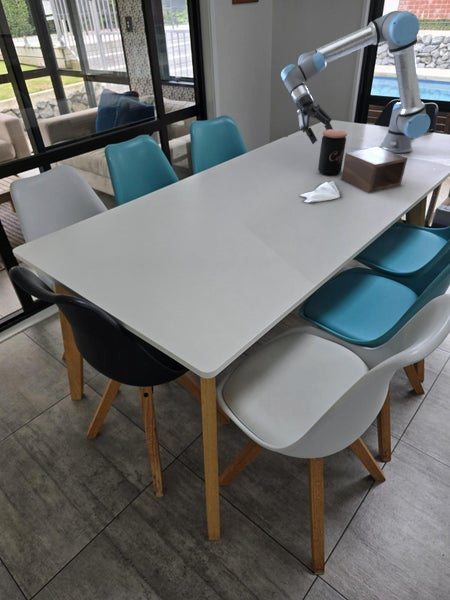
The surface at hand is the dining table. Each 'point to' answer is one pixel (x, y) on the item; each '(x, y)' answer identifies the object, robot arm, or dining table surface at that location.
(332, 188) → the cloth
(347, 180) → the dark wooden box
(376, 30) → the robot arm
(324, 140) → the coffee jar
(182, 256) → the dining table surface
